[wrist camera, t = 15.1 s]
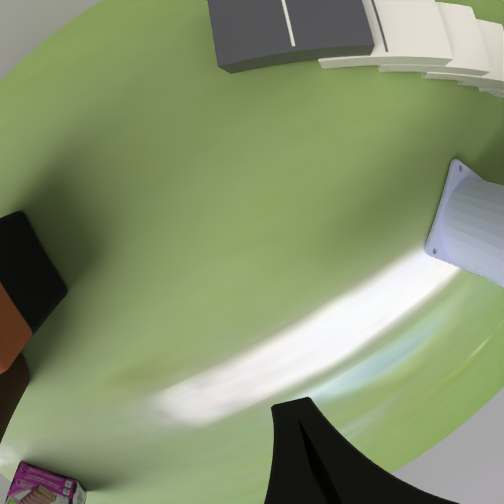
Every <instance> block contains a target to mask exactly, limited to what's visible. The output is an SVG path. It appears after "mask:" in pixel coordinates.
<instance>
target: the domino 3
mask: <svg viewBox="0 0 504 504" xmlns="http://www.w3.org/2000/svg"><path fill="white" fill-rule="evenodd" d="M436 5H437V8H438V11H439V13H440V16H441V19H442V22H443V25H444V28H445V32H446V35H447V38H448V42H449V45H450V49H451V53H452V57H453V59H452V60H451V61H450V62H449V63H448V64H447V65H446V66H433V65H377V68H378V72H436V73H451V74H462V75H471V76H479V77H481V76H484V75H486V74H488V73H490V72H491V70H490V65H489V61H488V57H487V53H486V50H485V46H484V43H483V39H482V36H481V33H480V30H479V27H478V24H477V21H476V18H475V16H474V13H473V10H472V8H471V7H469V6H463V5H456V4H449V3H441V2H436Z"/></svg>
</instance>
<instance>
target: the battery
mask: <svg viewBox="0 0 504 504" xmlns="http://www.w3.org/2000/svg"><path fill="white" fill-rule="evenodd" d="M66 294H67V288H66V286H65V285H64V283H63V281H62V280H61V278H60V277H59V275H58V273H57V272H56V270H55V269H54V267H53V265H52V264H51V262H50V260H49V259H48V257H47V255H46V253H45V252H44V250H43V248H42V246H41V244H40V243H39V241H38V239H37V237H36V235H35V233H34V231H33V230H32V228H31V226H30V224H29V222H28V220H27V218H26V216H25V214H24V213H23V212H22V211H17V212H14V213H12V214H9V215H7V216H4V217H2V218H0V374H1V373H3V372H5V371H7V370H8V368H9V367H10V366H11V364H12V363H13V361H14V360H15V359H16V357H17V356H18V355H19V353H20V352H21V350H22V349H23V348H24V346H25V345H26V344H27V342H28V341H29V340H30V339H31V337H32V336H33V335H34V333H35V332H36V331H37V330H38V328H39V327H40V326H41V325H42V323H43V322H44V321H45V320H46V318H47V317H48V316H49V315H50V313H51V312H52V311H53V310H54V309H55V308H56V306H57V305H58V304H59V303H60V302H61V300H62V299H63V298H64V297H65V296H66Z"/></svg>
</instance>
